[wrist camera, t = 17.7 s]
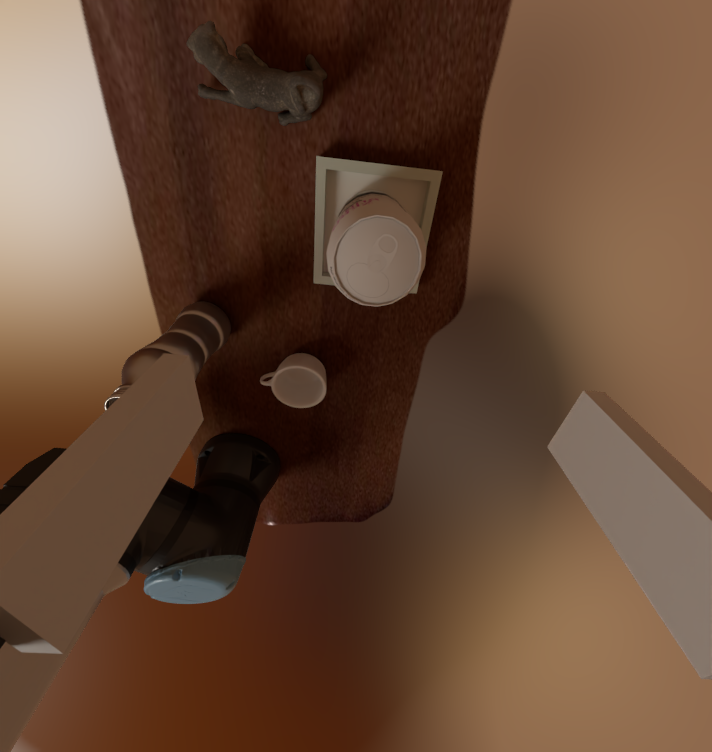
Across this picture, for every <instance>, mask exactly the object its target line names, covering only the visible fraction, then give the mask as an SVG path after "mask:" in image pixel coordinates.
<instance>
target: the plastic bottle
mask: <svg viewBox="0 0 712 752" xmlns="http://www.w3.org/2000/svg"><path fill="white" fill-rule="evenodd" d="M230 332H231V324H230V321H229V318H228V317H227V315H226V314H225V313H224V311H223V310H222V309H220V308H219V307H217V306H216V305H214V304H212V303H209V302H203V301H199V302H195V303H193V304H190V305H188V306H186V307H185V308H184V309H183V310H182V311H181V313H180V314H179V315H178V317H177V319H176V321H175V322H174V324H173V325H172V326H171V327H170V329H169V330H168V331H167V332H166V333H164V334H163V335H162V336H161V337H159V338H158V339H157V340H156V341H154V342H152V343H151V344H149V345H147V346H145V347H144V348H142V349H140V350H138V351H137V352H135V353H134V354H133V355H131V356H130V357H129V358H128V359H127V360H126V362H125V364H124V367H123V369H122V385H120V386H119V387H118V388H117V389H116V390H115V391H114V393H113V394H112V395H111V396H110V397H109V398H108V399H107V400H106V401H105V404H104V407H105V411H106V410H107V409H108V408H109V407H110V406H111V405H112V404H113V403H114V402H115V401H116V400H117V399H118V398H119V397H120V396H121V395H122V394H123V393H124V392H125V391H126V390H127V389H128V388H129V387H130V386H131V385H132V384H133V383H134V382H135V381H136V380H137V379H138V378H140V377H141V376H142V375H143V374H144V373H145V372H146V371H147V370H148V369H149V368H150V367H151V366H152V365H153V364H154V363H155V362H156V361H157V360H158V359H159V358H160V357H161V356H162V355H163V354H164V353H166V354H178V355H189V359H190V363H191V367H192V372H193V376H194V380H196V378H197V376H198V374H199V372H200V370H201V369H202V367H203V365H204V364H205V362H206V361H207V360H208V359H209V358H210V357H211V355H212V354H213V353H214V352H216V351H217V350H219V349H220V348H221V347H222V346H223V345H225V343H226V342H227V341H228V339H229V336H230Z"/></svg>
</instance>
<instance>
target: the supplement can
mask: <svg viewBox="0 0 712 752" xmlns="http://www.w3.org/2000/svg"><path fill="white" fill-rule="evenodd" d="M326 254H327V264H328V271H329V273H330V276H331V278H332V280H333V282H334V284H335V286H336V287H337V288H338V289H339V290H340V291H341V292H342V293H343V294H344V295H345V296H346V297H347V298H348V299H350V300H352V301H354V302H356V303H358V304H360V305H367V306H375V307H378V306H383V305H388V304H392V303H394V302H396V301H398V300H399V299H401V298H403V297H404V296H406V295H407V294H408V293H409V292H410V291H411V290H412V289H413V288H414V286H415V285H416V284H417V283H418V281H419V279H420V277H421V274H422V272H423V270H424V267H425V260H426V244H425V241H424V237H423V234H422V230H421V229H420V227H419V226H418V225H417V223H416V222H415V221H414V219H413V218H412V217H411V215H410V214H409V213H408V212H407V211H406V210H405V209H404V208H403V207H402V206H401V205H400V204H399V202H398V201H397V200H396V199H395V198H393V197H391V196H390V195H388V194H387V193H385V192H382V191H376V190H368V191H364V192H360V193H357V194H356V195H354V196H353V197H352V198H350V199H349V200H348V201H347V202H346V203H345V205H344V206H343V208H342V209H341V211H340V212H339V215H338V217H337V220H336V223H335V225H334V228H333V230H332V233H331V236H330V240H329V244H328V248H327V252H326Z"/></svg>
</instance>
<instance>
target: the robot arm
mask: <svg viewBox="0 0 712 752" xmlns="http://www.w3.org/2000/svg"><path fill="white" fill-rule="evenodd" d="M203 420H204V419H203V415H202V410H201V406H200V402H199V398H198V393H197V389H196V385H195V380H194V376H193V372H192V367H191V363H190V359H189V355H178V354H166V353H164V354H163V355H162V356H161V357H160V358H159V359H158V360H157V361H156V362H155V363H154V364H153V365H152V366H151V367H150V368H149V369H148V370H147V371H146V372H145V373H144V374H143V375H142V376H141V377H140V378H138V379H137V380H136V381H135V382H134V383H133V384H132V385H131V386H130V387H129V388H128V389H127V390H126V391H125V392H124V393H123V394H122V395H121V396H120V397H119V398H118V399H117V400H116V401H115V402H114V403H113V404H112V405H111V406H110V407H109V408H108V409H107V410H106V411H105V412H104V413H103V414H102V415H101V416H100V417H99V418H98V419H97V420H96V421H95V422H94V423H93V424H92V425H91V426H90V427H89V428H88V429H87V430H86V431H85V432H84V433H83V434H82V435H81V436H80V437H79V438H78V439H77V440H76V441H75V442H74V443H73V444H71V446H70V447H68V448H67V449H63V448H53V449H52V450H50V451H48V452H46V453H45V454H43V455H41V456H40V457H38V458H36V459H34V460H33V461H31V462H29V463H28V464H26V465H25V466H24V467H23V468H22V469H21V470H20V471H19V472H17V473H16V474H15V475H14V476H13V477H12V478H11V479H10V480H9V481H7V483H5V484H4V487H3V489H0V752H11V750H12V748H13V747H14V745H15V743H16V742H17V740H18V738H19V737H20V735H21V733H22V732H23V730H24V728H25V727H26V725H27V723H28V721H29V720H30V718H31V717H32V715H33V713H34V712H35V710H36V708H37V707H38V705H39V703H40V702H41V700H42V698H43V697H44V695H45V693H46V692H47V690H48V688H49V687H50V685H51V683H52V682H53V680H54V678H55V676H56V675H57V673H58V672H59V670H60V668H61V667H62V665H63V663H64V662H65V660H66V658H67V657H68V655H69V653H70V651H71V650H72V648H73V647H74V645H75V643H76V642H77V640H78V638H79V637H80V635H81V633H82V632H83V630H84V628H85V627H86V625H87V623H88V622H89V620H90V618H91V617H92V615H93V613H94V612H95V610H96V608H97V607H98V605H99V603H100V602H101V600H102V598H103V597H104V596H105V595H106V594H107V593H109V592H111V591H113V590H115V589H117V588H119V587H121V586H123V585H125V584H126V583H127V582H128V580H129V578H130V577H131V574H132V573H133V571H137V572H140V573H143V574H145V575H147V577H146V579H145V582H144V584H145V585H144V591H145V593H146V594H147V595H150V596H151V598H154V599H157V600H160V601H164V602H169V603H180V604H194V603H203V602H204V603H205V602H210V601H214V600H217V599H220V598H222V597H224V596H226V595H227V594H229V593H230V592H231V591H232V590H233V589H234V587H235V586H236V584H237V581H238V579H239V576H240V573H241V570H242V568H243V565H244V563H245V561H246V558H245V557H246V554H247V551H248V547H249V543H250V540H251V536H252V533H253V529H254V526H255V522H256V518H257V515H258V511H259V508H260V504H261V503H262V501H263V500H264V498H265V497H266V495H267V494H268V492H269V491H270V490H271V488H272V487H273V485H274V484H275V482H276V480H277V478H278V474H279V471H280V460H279V457H278V455H277V454H276V452H275V451H274V450H273V449H272V448H271V447H270V446H269V445H267V444H266V443H264V442H263V441H261V440H259V439H256V438H254V437H251V436H247V435H242V434H223V435H219V436H216V437H214V438H212V439H210V440H209V441H208V442H207V443H206V444H205V445H204V447H203V449H202V450H201V452H200V454H199V456H198V460H197V468H196V477H195V486H194V488H193V489H192V488H190V487H188V486H186V485H184V484H182V483H180V482H178V481H176V480H174V479H172V478H170V475H171V473H172V472H173V470H174V468H175V467H176V465H177V463H178V462H179V460H180V458H181V457H182V455H183V453H184V452H185V450H186V448H187V447H188V445H189V443H190V442H191V440H192V438H193V437H194V435H195V433H196V432H197V430H198V428H199V427H200V425H201V423H202V422H203ZM547 447H548V449H549V450H550V452H551V453H552V455H553V456H554V458H555V459H556V461H557V462H558V464H559V465H560V467H561V468H562V470H563V471H564V473H565V474H566V476H567V477H568V479H569V480H570V482H571V483H572V485H573V486H574V488H575V489H576V491H577V492H578V494H579V495H580V497H581V498H582V500H583V501H584V503H585V504H586V506H587V507H588V509H589V510H590V512H591V513H592V515H593V517H594V518H595V520H596V521H597V523H598V524H599V525H600V527H601V529H602V530H603V532H604V533H605V535H606V536H607V538H608V539H609V541H610V542H611V544H612V545H613V547H614V548H615V550H616V551H617V553H618V554H619V556H620V557H621V559H622V560H623V562H624V563H625V565H626V566H627V568H628V569H629V570H630V572H631V574H632V575H633V577H634V578H635V580H636V581H637V583H638V584H639V586H640V587H641V589H642V590H643V592H644V593H645V595H646V596H647V598H648V599H649V601H650V602H651V604H652V605H653V607H654V608H655V610H656V611H657V613H658V615H659V616H660V618H661V619H662V620H663V622H664V624H665V625H666V627H667V628H668V629H669V631H670V633H671V634H672V635H673V637H674V639H675V640H676V642H677V643H678V645H679V646H680V648H681V649H682V651H683V652H684V654H685V655H686V657H687V658H688V660H689V661H690V663H691V664H692V666H693V667H694V669H695V670H696V672H697V673H698V675H699V676H700V678H701V679H712V492H711V491H710V490H708V489H707V488H706V487H705V486H704V485H703V484H702V483H701V482H700V481H699V480H698V479H697V478H696V477H695V476H694V475H692V474H691V473H690V472H689V471H688V470H687V469H686V468H685V467H684V466H683V465H682V464H681V463H680V462H678V461H677V460H676V459H675V458H674V457H673V456H672V455H671V454H670V453H669V452H668V451H667V450H666V449H664V447H662V446H661V445H660V444H659V443H658V442H657V441H656V440H655V439H654V438H653V437H652V436H651V435H650V434H648V432H646V431H645V430H644V429H643V428H642V427H641V426H640V425H639V424H638V423H637V422H636V421H635V420H634V419H633V418H631V417H630V416H629V415H628V414H627V413H626V412H625V411H624V410H623V409H622V408H621V407H620V406H619V405H618V404H616V403H615V402H614V401H613V400H612V399H611V398H610V397H609V396H608V395H607V394H606V393H604V392H593V391H583V392H582V393H581V395H580V397H579V398H578V400H577V401H576V403H575V404H574V406H573V407H572V409H571V411H570V412H569V414H568V415H567V417H566V419H565V420H564V422H563V423H562V425H561V426H560V428H559V429H558V431H557V432H556V434H555V436H554V437H553V439H552V440H551V442H550V443H549V445H548V446H547Z"/></svg>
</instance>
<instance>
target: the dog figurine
mask: <svg viewBox="0 0 712 752" xmlns="http://www.w3.org/2000/svg"><path fill="white" fill-rule="evenodd" d="M187 46H188V47H189V48H190V49H191V50H192V51H193V52H194V58H195V60H196V61H197V62H198V63H200V64H204V65H205V66H206V67H207V68H208V70H209V71H210V72H211V73H212V74H213V75H214V76H215V77H216V78H217V79H218V80H219V82H220V83H221V84H223V85H224V86H226V87H227V89H228V91H226V90H216V89H213V88H211V87H207V86H206V85H204V84H199V85H198V89H199V91H198V95H200V96H201V97H203V98H206V99H207V98H210V99H213V100H215V99H219V100H221V101H225V102H228V103H232V104H235V105H238V106H240V107H245V108H248V109H255V108H256V107H261V108H263V109H265V110H268V111H273V112H279V111H283V110H289V111H290V112H288V113H285V112H282V113H279V114H278V118H279V122H280V124H281V125H284V126H285V125H287V124H288V123H297V122H300V121H307V120H310V119H311V117H312V115H311V112H313V111H315V110H316V109H317V108H318V107H319V106H320V105H321V102H322V97H323V83H322V82H323V81H324V80H325V79H326V78H327V73H326V72H325V71H324V70H323V69H322V68H321V67H320V65H319V63H318V62H317V61H316V60H315V58H314V56H313V55H310V54H309V55H308V56H306V61H305V64H306V66H307V67H308V68H310V69H311V70H312V71H307V70H303V71H300V72H297V71H293V72H290V73H288V72H286V71H283V70H280V69H275V68H269V67H268V65H267V64H266V63H264V62H263V61H262V60H261V59H260V58H258V57H257V56H256V55H255V54H254V52H253V50H252V49H251V48H250V47H249V46H248V45H247V44H242V45H241V46H239V47H238V48H237V49H236V55H237V57H238V59H237V58H235V57H234V56H232V55H230V54H228V51H227V46H226V43H225V41H224V40H223V38H222V37H221V36H220V35H219V34H218V33H217V32H216V29H215V25H214V22H212V21H208V22H207V23H205V24H201V25H200V26H199V27H198V28H197V30H195V31H194V32H193V33H192V34H191V36H190V37H189V39H188V41H187Z"/></svg>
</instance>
